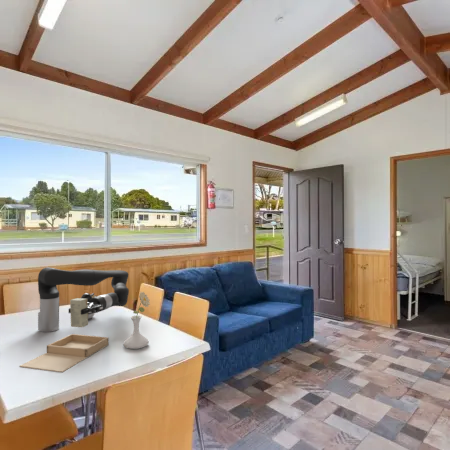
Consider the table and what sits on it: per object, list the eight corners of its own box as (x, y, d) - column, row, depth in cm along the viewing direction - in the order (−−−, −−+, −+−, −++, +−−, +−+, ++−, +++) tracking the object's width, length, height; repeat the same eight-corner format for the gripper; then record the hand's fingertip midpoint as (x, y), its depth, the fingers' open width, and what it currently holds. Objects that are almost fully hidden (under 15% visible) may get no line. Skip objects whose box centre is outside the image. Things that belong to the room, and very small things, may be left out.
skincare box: (88, 325, 151) (88, 298, 150) (81, 328, 146) (81, 300, 146) (77, 323, 153) (77, 297, 153) (69, 326, 148) (69, 299, 148)
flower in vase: (135, 353, 145) (135, 296, 145) (118, 348, 151) (118, 293, 151) (156, 344, 156) (156, 291, 156) (139, 339, 162) (139, 288, 162)
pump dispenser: (99, 317, 201) (99, 292, 201) (84, 321, 192) (84, 295, 192) (88, 315, 206) (89, 290, 206) (73, 318, 198) (73, 293, 198)
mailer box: (19, 366, 131) (19, 357, 131) (72, 341, 160) (72, 333, 160) (62, 372, 126) (62, 363, 126) (108, 344, 155) (108, 337, 155)
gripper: (112, 312, 161) (88, 321, 145) (88, 309, 165) (62, 318, 150) (112, 296, 161) (88, 304, 145) (88, 294, 165) (62, 302, 149)
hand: (75, 311), depth 147 cm, fingers closed on skincare box, 6 cm apart
